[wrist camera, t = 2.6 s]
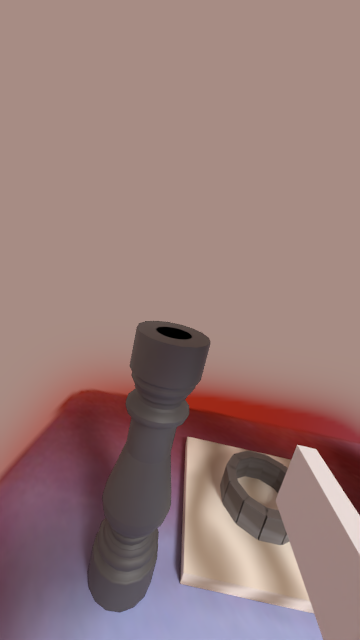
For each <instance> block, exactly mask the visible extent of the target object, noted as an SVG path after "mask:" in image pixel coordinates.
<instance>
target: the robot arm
mask: <svg viewBox="0 0 360 640" xmlns="http://www.w3.org/2000/svg"><path fill="white" fill-rule="evenodd" d="M275 501H276V504H277V507H278V509H279V512H280V515H281V518H282V521H283V524H284V527H285V530H286V533H287V535H288V538H289V541H290V544H291V547H292V550H293V553H294V556H295V559H296V562H297V564H298V567H299V570H300V573H301V576H302V579H303V582H304V585H305V588H306V591H307V593H308V596H309V599H310V602H311V605H312V608H313V611H314V614H315V617H316V620H317V622H318V625H319V628H320V631H321V634H322V637H323V640H360V515H359V514H358V512H357V511H356V509H355V508H354V506H353V505H352V503H351V502H350V500H349V499H348V497H347V496H346V494H345V493H344V491H343V489H342V488H341V486H340V485H339V483H338V482H337V480H336V479H335V477H334V476H333V474H332V473H331V471H330V470H329V468H328V467H327V465H326V463H325V462H324V460H323V459H322V457H321V456H320V454H319V453H318V451H317V450H316V449H313V448H309V447H305V446H300V445H297V447H296V449H295V452H294V454H293V457H292V459H291V462H290V465H289V467H288V470H287V472H286V475H285V477H284V480H283V482H282V485H281V488H280V490H279V493H278V495H277V498H276V500H275Z"/></svg>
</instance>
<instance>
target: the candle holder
mask: <svg viewBox="0 0 360 640" xmlns="http://www.w3.org/2000/svg"><path fill="white" fill-rule="evenodd" d="M209 347H210V340H209V338H208V337H207V336H206V335H204V334H203V333H201V332H199V331H197V330H195V329H192V328H189V327H186V326H183V325H179V324H175V323H170V322H162V321H145V322H142V323H139V325H138V326H137V330H136V335H135V340H134V346H133V351H132V356H131V362H130V368H131V370H132V378H133V380H134V382H135V388H136V389H134V390H133V391H132V392H130V393H129V394H128V397H127V399H126V408H127V411H128V414H129V415H130V416H131V417H132V418H131V423H130V428H129V433H128V438H127V442H126V444H125V446H124V448H123V450H122V452H121V454H120V456H119V458H118V460H117V462H116V464H115V466H114V468H113V470H112V472H111V474H110V476H109V478H108V480H107V483H106V486H105V489H104V492H103V497H102V500H103V508H104V515H105V519H104V520H103V521H102V523H101V526H100V529H99V532H98V533H97V535H96V538H95V541H94V545H93V548H92V554H91V559H90V565H89V570H88V582H89V589H90V592H91V594H92V596H93V598H94V600H95V602H97V603H98V604H99V605H100V606H102V607H103V608H104V609H105V610H108V611H115V612H122V611H125V610H128V609H130V608H133V607H134V606H135V605H136V604H137V603H138V602H139V601H140V600H141V599H142V598H143V597H144V596H145V594H146V592H147V589H148V587H149V585H150V582H151V579H152V575H153V571H154V567H155V564H156V560H157V551H158V533H159V532H158V529H157V528H158V527H159V526H160V525H161V524H162V523H163V521H164V519H165V517H166V515H167V513H168V512H169V509H170V505H171V448H172V444H173V440H174V436H175V432H176V428H177V426H180V425H182V424H183V423H184V421H185V420H186V419H187V417H188V415H189V405H188V404H187V402H186V401H185V399H186V398H187V396H188V395H189V394H190V393H191V392H192V391H193V390H194V388H195V386H196V385H197V384H198V383H199V382H200V380H201V377H202V373H203V369H204V366H205V362H206V358H207V354H208V350H209Z"/></svg>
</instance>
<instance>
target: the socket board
mask: <svg viewBox="0 0 360 640" xmlns="http://www.w3.org/2000/svg"><path fill="white" fill-rule="evenodd" d="M290 462H291V460H290V459H285V458H281V457H276V456H272V455H267V454H263V453H259V452H254V451H250V450H245V449H241V448H236V447H232V446H227V445H223V444H219V443H214V442H210V441H205V440H201V439H196V438H192V437H187V441H186V449H185V475H184V500H183V526H182V551H181V576H180V584H184V585H188V586H193V587H197V588H202V589H206V590H211V591H215V592H220V593H224V594H229V595H233V596H238V597H242V598H247V599H251V600H256V601H260V602H265V603H269V604H274V605H278V606H282V607H287V608H291V609H296V610H300V611H305V612H309V613H314V611H313V608H312V605H311V602H310V599H309V596H308V593H307V591H306V588H305V585H304V582H303V579H302V576H301V573H300V570H299V567H298V564H297V562H296V559H295V556H294V553H293V550H292V547H291V544H290V541H289V538H288V535H287V533H286V530H285V527H284V524H283V521H282V518H281V515H280V512H279V509H278V507H277V504H276V501H275V500H276V498H277V495H278V493H279V490H280V488H281V485H282V482H283V480H284V477H285V475H286V472H287V470H288V467H289V465H290Z"/></svg>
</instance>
